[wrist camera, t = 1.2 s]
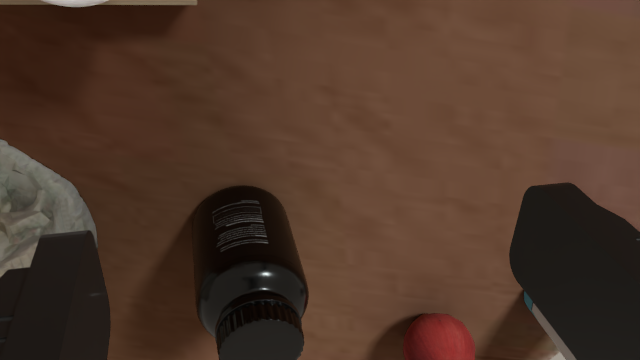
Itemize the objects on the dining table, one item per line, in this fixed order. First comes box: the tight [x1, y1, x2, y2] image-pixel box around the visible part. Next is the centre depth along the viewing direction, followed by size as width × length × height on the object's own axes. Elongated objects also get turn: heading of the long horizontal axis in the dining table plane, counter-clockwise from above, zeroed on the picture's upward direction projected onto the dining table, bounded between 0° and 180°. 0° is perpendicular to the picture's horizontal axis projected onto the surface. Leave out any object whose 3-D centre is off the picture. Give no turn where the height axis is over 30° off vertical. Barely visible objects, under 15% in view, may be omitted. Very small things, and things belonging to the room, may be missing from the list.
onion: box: [403, 313, 475, 360], centre depth 47 cm, size 6×6×8 cm
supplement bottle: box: [192, 186, 309, 360], centre depth 36 cm, size 7×7×12 cm
